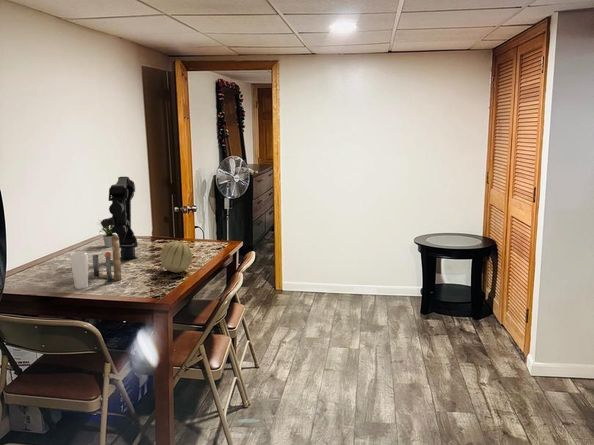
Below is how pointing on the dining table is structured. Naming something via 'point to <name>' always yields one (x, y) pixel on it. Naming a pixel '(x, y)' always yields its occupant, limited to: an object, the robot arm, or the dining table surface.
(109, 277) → the post
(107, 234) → the house plant
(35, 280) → the dining table surface
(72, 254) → the cream white cylinder
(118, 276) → the gate
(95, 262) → the post
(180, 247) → the cantaloupe
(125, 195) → the robot arm
